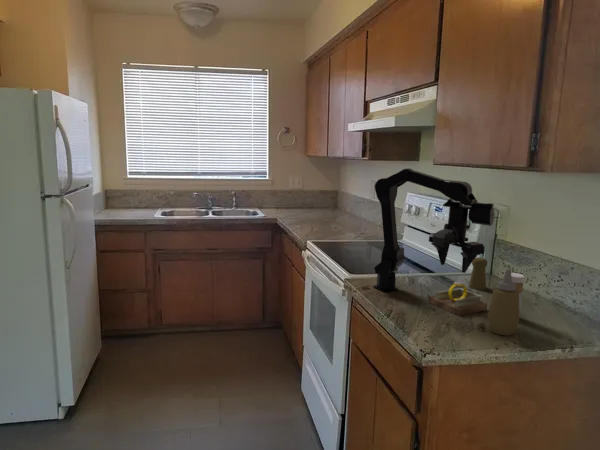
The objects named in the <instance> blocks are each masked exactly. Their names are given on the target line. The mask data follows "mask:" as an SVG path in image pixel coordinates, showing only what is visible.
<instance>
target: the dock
mask: <svg viewBox="0 0 600 450" xmlns="http://www.w3.org/2000/svg"><path fill="white" fill-rule="evenodd" d="M448 293H449V289H446V290H442V291H437V292H436V293H435V295H431V296H428V303H429V304H432V305H433V306H436V307H438V308H440V309H442V310H445V311H447V312H449V313H451V314H454V315H455V316H459V317H462V316H467V315H470V314H475V313H479V312H484V311H487V308H488V303H485V302H483V297H484V296H483V295H481V294H478V293H477V292H476V293H475V292H472V291H470V290H468V289H467V295H466V297H465V298H463V299H459V298H461V297H462V295H463V293H464V288H463V287H456V288H454V289H453V291H452V298H453V299H458V300H455V301H453V300H451V299H450V297H449V294H448Z"/></svg>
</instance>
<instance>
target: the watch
mask: <svg viewBox="0 0 600 450" xmlns="http://www.w3.org/2000/svg"><path fill="white" fill-rule="evenodd" d="M457 287H462V288H463V289H464V293H463V295H462V297H461V298H459V299H463V298H465V297H466V295H467V290H468V288H467V287H466V285H464V282H462V281H454V282H453V284H452V285H451V286H450V287H449V289H448V290H449V293H448V294H449V297H450V299H451V300H453V301H455V300H458V299H453V298H452V291H453V289H456V288H457Z"/></svg>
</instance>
